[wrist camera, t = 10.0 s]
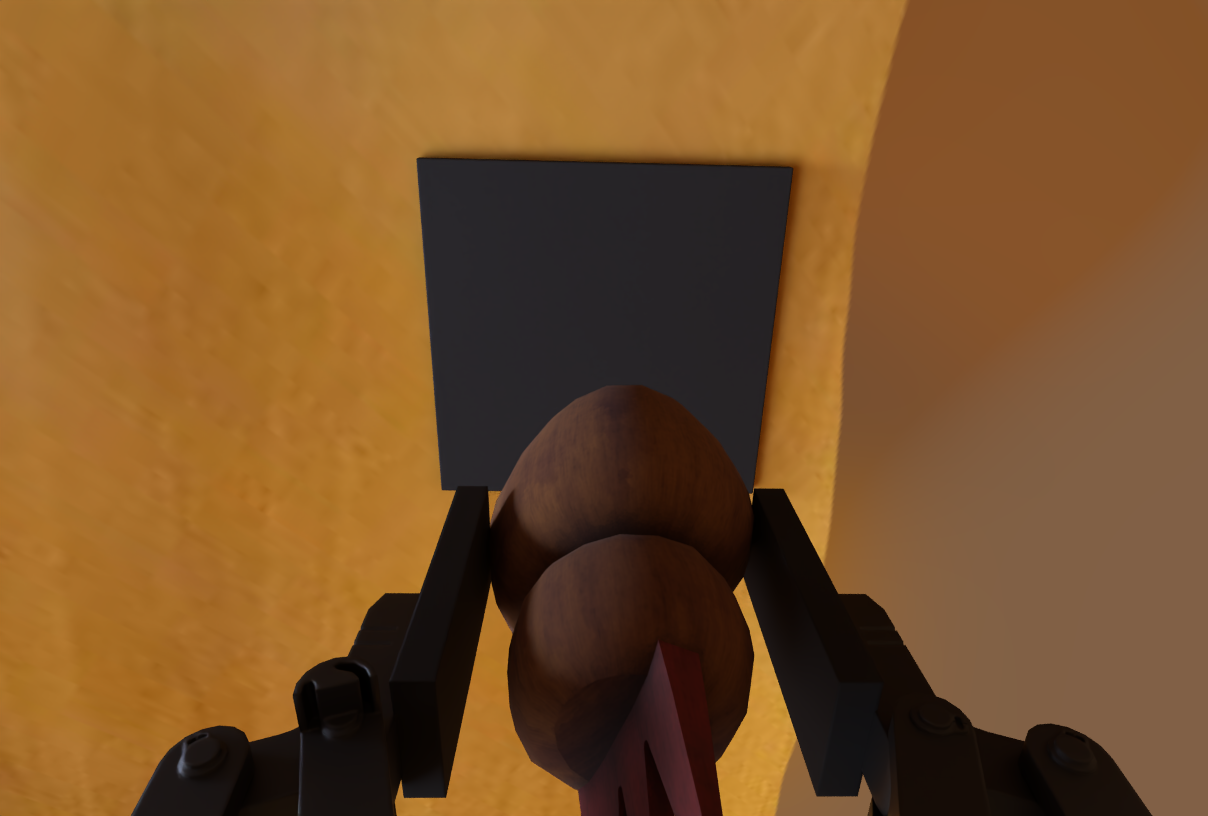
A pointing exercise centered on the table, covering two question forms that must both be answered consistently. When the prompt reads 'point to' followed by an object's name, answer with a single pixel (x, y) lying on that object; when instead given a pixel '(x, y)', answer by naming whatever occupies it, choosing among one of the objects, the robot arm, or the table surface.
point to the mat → (596, 297)
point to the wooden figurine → (626, 602)
